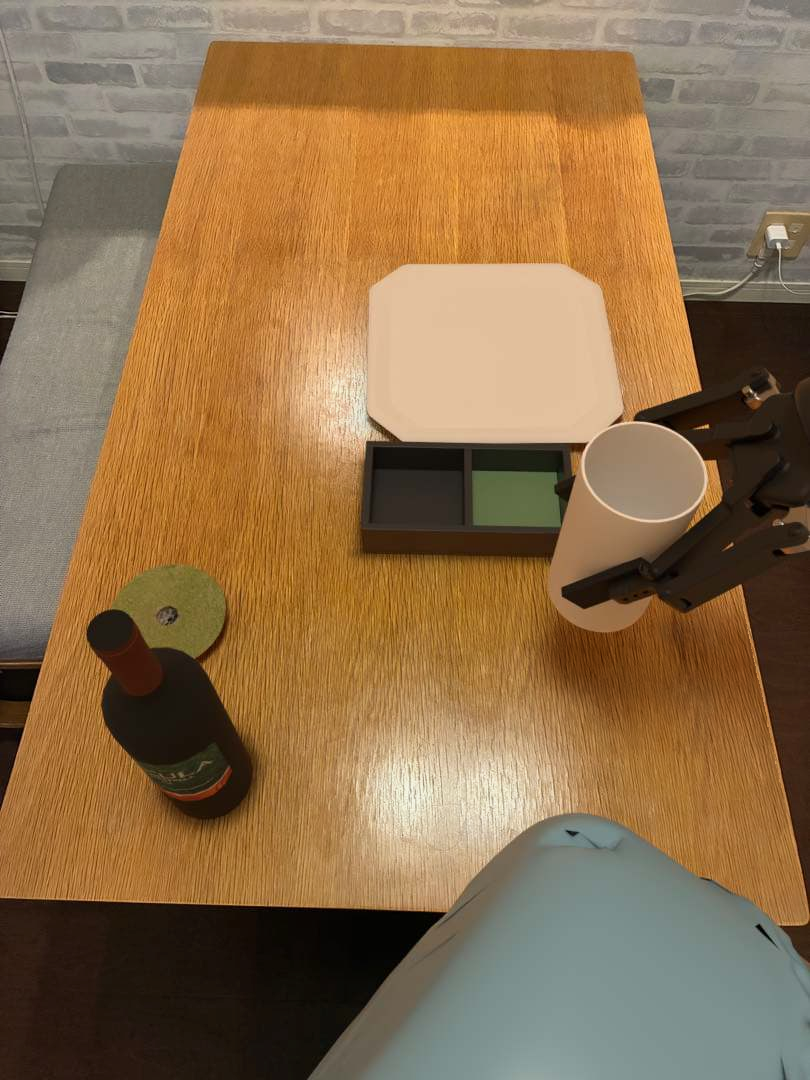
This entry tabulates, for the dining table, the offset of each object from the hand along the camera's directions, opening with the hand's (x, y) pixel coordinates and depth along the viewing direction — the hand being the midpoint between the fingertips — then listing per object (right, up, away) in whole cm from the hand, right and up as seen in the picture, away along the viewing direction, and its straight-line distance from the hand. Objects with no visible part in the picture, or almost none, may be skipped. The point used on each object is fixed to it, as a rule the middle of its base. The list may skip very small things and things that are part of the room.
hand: (568, 545), depth 64 cm
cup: (+3, -3, +5) cm, 7 cm away
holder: (-6, +4, +27) cm, 28 cm away
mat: (-35, -8, +20) cm, 41 cm away
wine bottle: (-30, -21, +12) cm, 38 cm away
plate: (-2, +22, +38) cm, 44 cm away
